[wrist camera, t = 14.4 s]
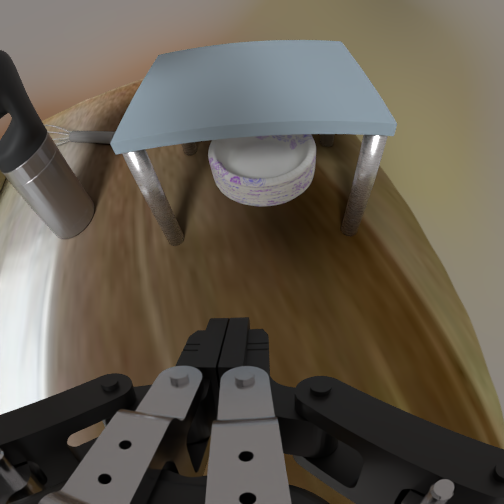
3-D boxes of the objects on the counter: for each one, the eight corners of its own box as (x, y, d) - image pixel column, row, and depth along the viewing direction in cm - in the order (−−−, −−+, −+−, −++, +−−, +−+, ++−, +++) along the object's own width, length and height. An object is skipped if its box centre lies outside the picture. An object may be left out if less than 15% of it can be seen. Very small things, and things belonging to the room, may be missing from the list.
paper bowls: (204, 214, 45) (192, 177, 38) (230, 147, 52) (224, 111, 45) (308, 227, 42) (312, 189, 35) (316, 155, 50) (319, 118, 43)
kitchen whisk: (121, 152, 55) (110, 129, 50) (32, 153, 62) (22, 137, 57) (136, 133, 58) (126, 110, 53) (45, 138, 65) (35, 122, 60)
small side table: (359, 237, 41) (397, 123, 24) (167, 248, 42) (110, 143, 26) (331, 137, 52) (341, 41, 35) (185, 146, 53) (158, 55, 37)
